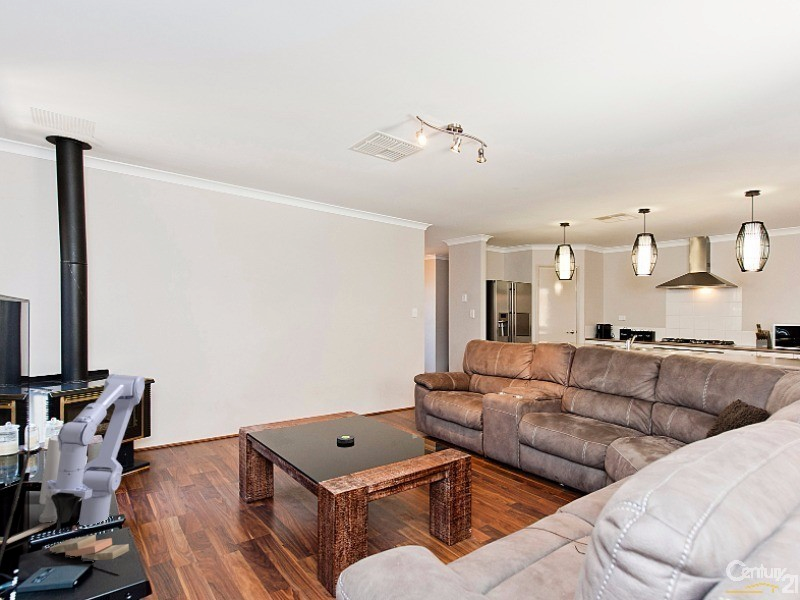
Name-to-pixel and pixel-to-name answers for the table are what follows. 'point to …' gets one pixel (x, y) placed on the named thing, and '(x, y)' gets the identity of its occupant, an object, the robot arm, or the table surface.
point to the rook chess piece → (48, 510)
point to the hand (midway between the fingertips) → (63, 521)
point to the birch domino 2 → (108, 552)
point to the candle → (51, 466)
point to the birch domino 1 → (73, 544)
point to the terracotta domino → (91, 548)
